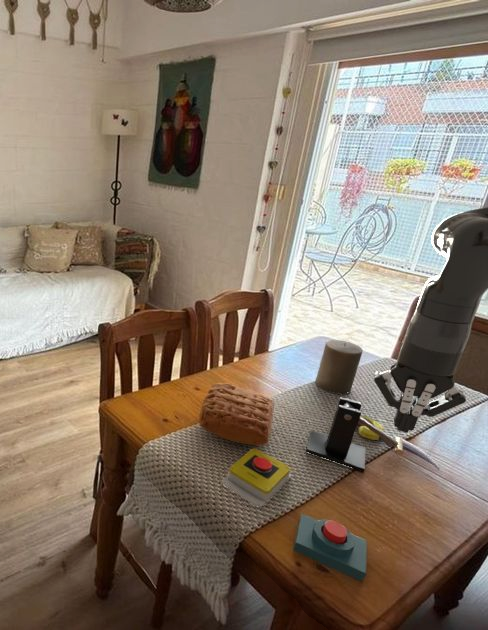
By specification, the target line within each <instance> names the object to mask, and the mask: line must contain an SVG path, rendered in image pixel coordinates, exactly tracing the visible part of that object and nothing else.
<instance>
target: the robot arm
mask: <svg viewBox="0 0 488 630" xmlns="http://www.w3.org/2000/svg"><path fill="white" fill-rule="evenodd" d="M431 244H432V246H433V248H434V249H435V251H436V252H437V253H439V255H442V256H443V257H445V258H446V262H445V264H444V265H443V268H442V270H441V272H440V274H439V275H435V276H432V277H430V278H428V280H427V281H426V282H425V284H424V286H423V288H422V291H421V294H420V297H419V300H418V302H417V306H416V309H415V311H414V313H413V315H412V317H411V318H410V321H409V324H408V327H407V328H406V330H405V335H404V339H403V341H402V345H401V348H400V350H399V353H398V356H397V359H396V361H395V362H394V364H392V365H391V366H390V369H389V370H385V371H380V370H376V371H375V372H374V373H373V381H374V383H375V385H376V387H377V388H378V389H379V391H380V393H381V395H382V396H383V398H384V399H385V401H386V402H387V404H388V406H389V407H391V408H395V409H396V411H395V415H394V417H393V425H394V428H395V427H396V430H397V432H403V433H405V434H408V433H409V431H410V432H411V431H413V430H414V429H415V428H416V424H417V423H418V420H419V417H421V416H427V417H429V418H434V417H436V416H438V415H440V414H442V413H444V412H446V411H449V410H451V409H453V408H456V407H458V406H461V405H463V404H465V403H466V402H467V399H466V395H465V393H464V391H463V390H461V389H459V388H457V387H456V386H455V385H456V384H455V380H454V375H455V373H456V371H457V368H458V366H459V363H460V361H461V358H462V356H463V353H464V350H465V348H466V346H467V343H468V341H469V338H470V335H471V330H472V325H473V322H474V319H475V317H476V314H477V312H478V310H479V306H480V305H481V300H482V298H483V295H484V294H485V293H486V292H487V291H488V206H486V207H480V208H474V209H470V210H466V211H462V212H458V213H455V214H454V215H450V216H448V217H447V218H445V219H443V220H442V221H441V222H440V223H439V224H438V225H437V226H436V227H435V228H434V230H433V232H432V235H431ZM391 379H392V380H393V381H394V383H395V385H396V387H397V388H398V390H399V391H400V397H397V396H396V394H395V392H394V391H393V389H392V387H391V383H392V381H391ZM441 394H444V395H443V396H440V395H441ZM438 396H440V397H438ZM413 397H414V398H413ZM436 397H438V398H436ZM434 398H436V399H434ZM431 399H434V400H432V401H430V400H431Z"/></svg>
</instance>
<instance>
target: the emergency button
mask: <svg viewBox="0 0 488 630" xmlns="http://www.w3.org/2000/svg"><path fill="white" fill-rule="evenodd" d="M291 478H292V473H291V468H290V466H288V465H287V464H286V463H283V462H282V461H280V460H278V459H276V458H274V457H273V456H270V455H269V454H267V453H265V452H263V451H262V450H260V449H258V448H255V447H254V448H251V449H250V450H249V451H248V452H247V453H245V454H244V455H243V456H242V457H240V458H239V459H237V461H235V462H234V463H233V464H232V465H231V466H230V467H229V469H228V473H227V475H226V476H225V477H224V478H222V480H221V484H222V483H223V484H224V485H225V486H226V487H228V488H229V489H231V490H232V491H234V492H235V493H236V494H238V495H240V496H242V497H243V498H245V499H246V500H247V501H249V502H250V503H252V504H253V505H255V506H258V507H262V506H264V507H265V505H266V504H267V503H268V502H269V501H270V500H271V499H272V498H273V497H274V496H275V495H276V494H277V493H278V492H279V491H280V490H281V489H282V488H283V487H284V486H285V485H286V484H287V483H288V482H289V481H290V480H289V479H291ZM288 480H289V481H288ZM287 481H288V482H287ZM286 482H287V483H286ZM285 483H286V484H285ZM284 484H285V485H284ZM283 485H284V486H283ZM282 486H283V487H282ZM281 487H282V488H281ZM280 488H281V489H280ZM279 489H280V490H279ZM278 490H279V491H278ZM277 491H278V492H277ZM276 492H277V493H276ZM275 493H276V494H275ZM236 494H235V495H236ZM274 494H275V495H274ZM238 495H237V496H238ZM273 495H274V496H273ZM272 496H273V497H272ZM271 497H272V498H271ZM270 498H271V499H270ZM269 499H270V500H269ZM268 500H269V501H268ZM247 501H246V502H247ZM267 501H268V502H267ZM266 502H267V503H266ZM250 503H249V504H250ZM265 503H266V504H265ZM253 505H252V506H253ZM255 506H254V507H255ZM262 508H263V507H262Z"/></svg>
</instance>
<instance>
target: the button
mask: <svg viewBox="0 0 488 630" xmlns="http://www.w3.org/2000/svg"><path fill="white" fill-rule="evenodd" d="M345 528H346V527H345V526H344V525H342V524H341V523H339V522H337V521H334V520H331V521H327V522H326V523H325V525H324V528H323V535H324V536H325V537H326V538H327V539H328V540H329V541H331V542H333V543H336V544H342V543H344V542H345V539H346V537H347V530H348V529H347V528H346V529H347V530H346V529H345Z"/></svg>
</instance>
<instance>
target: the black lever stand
mask: <svg viewBox="0 0 488 630" xmlns="http://www.w3.org/2000/svg"><path fill="white" fill-rule="evenodd" d="M346 402H348V403H349V404H350V405H352V406H353V407H355V408H356V409H358V410H356V409H352V408H349V407H345V406H343V405H344V404H345V403H346ZM362 406H363V403H362V402H361V401H356V400H353V399H350V398H347V397H342V396H340V397H339V400H338V403H337V407H336V410H335V411H336V413H335V412H334V416H333V419H332V422H331V426H330V428H329V431H328V434H326V433H321V432H319V431H316V430H312V429H311V430H310V432H309V436H308V440H309V441H307V445H306V450H305V453H306V452H309V453H311V454H314V455H317V456H319V457H323V458H326V459H329V460H331V461H335V462H337V463H340V464H344V465H346V466H349V467H352V468H353V469H352V471H356V472H359V473H361V474H364V473H365V469H366V447H364V446H361V445H358V444H356V443H352V442H353V440H354V436H355V433H356V430H357V428H358V427H357V424H358V422H359V419H360V416H361V415H362V411H361V408H362ZM319 457H318V458H319Z"/></svg>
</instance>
